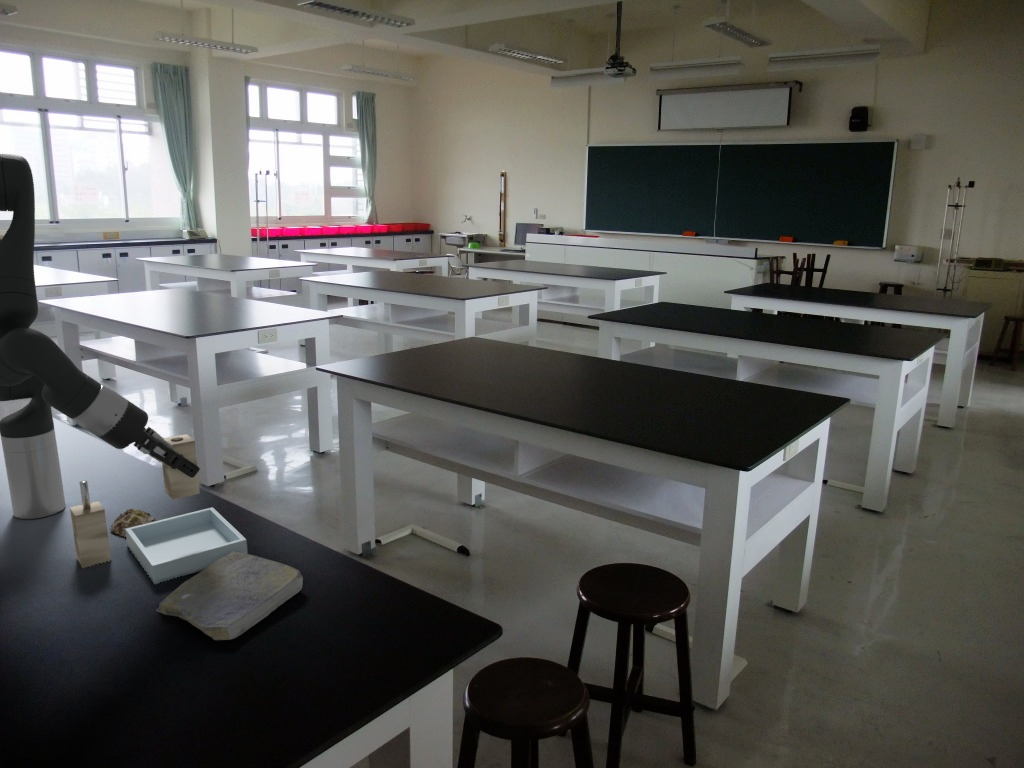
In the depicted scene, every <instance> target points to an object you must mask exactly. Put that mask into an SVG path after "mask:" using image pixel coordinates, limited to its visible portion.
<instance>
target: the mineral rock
mask: <svg viewBox="0 0 1024 768" xmlns="http://www.w3.org/2000/svg"><path fill="white" fill-rule="evenodd" d="M155 521H157V520H156V518H155V517H153V516H151V514H150V513H149V512H145V511H144V510H141V509H135V508H128V509H126V510H125V511H123V512H121V513H120V514H119V515H118V516H117V517H116V518H115V519H114V522H113V523H112V524H111V525H110V528H109V530H110V531H111V532H113V533H114V534H115V535H117V534H119V535H118V536H121V537H123V536H124V538H125V537H126V531H125V529H127V528H131V527H135V526H139V525H143V524H147V523H151V522H155Z"/></svg>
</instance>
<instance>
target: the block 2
mask: <svg viewBox="0 0 1024 768" xmlns="http://www.w3.org/2000/svg"><path fill="white" fill-rule="evenodd" d="M163 438H164V440H165V441H167V442H168V443H170V444H171V445H173V447H174V450H175V451H176V452H178V453H179V454H182V455H183V456H184V458H186V459H187V460H189V461H191V462H192V463H194V464H195V465H197V466H198V462H197V461H198V460H197V451H196V450H197V449H196V441H195V440H194V438H192V436H189V434H187V433H186V434H184V433H183V434H179V435H175V436H174V435H173V436H169V437H163ZM163 444H164V443H163ZM164 445H165V444H164ZM165 446H167V445H165ZM167 447H168V446H167ZM175 457H176V456H175V455H174V456H173V457H172V458H171V459H170V460H169V461H170V462H172V461H173V459H174V458H175ZM161 463H162V473H163V476H162V477H163V483H164V492H165V493H166V494H167V495H168V497H170V498H171V499H172V500H177V499H181V498H186V497H190V496H195V495H200V483H199V480H200V479H199V472H198V473H197V474H196V475H195V476H194V477H193V478H191V477H189V476H188V475H186V474H185V473H183V472H181V471H180V470H178V469H177V468H176V469H172V468H171V467H170V466H168V465H167V464H165V463H163V462H161Z"/></svg>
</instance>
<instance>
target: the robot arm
mask: <svg viewBox="0 0 1024 768" xmlns="http://www.w3.org/2000/svg"><path fill="white" fill-rule="evenodd" d="M0 212H12V218H11V223H10V225H9V227H8V229H7V230H6V232H5V234H4V235H3V236H2V238H0V402H8V401H9V402H10V401H17V400H24V399H30V401H29V402H28V403H27V404H26V405H25V406H23V407H22V408H21V409H19V410H17V411H15V412H13V413H10V414H8V415H6V416H4V417H2V418H1V419H0V441H1V446H2V447H1V448H2V452H3V458H4V464H5V465H4V466H5V470H6V476H7V482H8V488H9V489H8V490H9V495H10V502H11V503H10V504H11V507H12V515H13V517H15V518H17V519H22V520H32V519H41V518H45V517H49V516H52V515H55V514H57V513H59V512H61V511H63V510H64V509H65V507H66V499H65V491H64V484H63V478H62V470H61V465H60V458H59V456H60V455H59V452H58V451H59V450H58V445H57V438H56V432H55V431H56V430H55V423H54V418H53V417H54V416H53V411H52V408H53V409H55V410H56V411H58V412H60V413H61V414H63V415H65V416H66V417H67V418H69V419H71V420H72V421H73V422H75V423H77V425H79V426H80V427H81V428H83V429H85V430H86V431H88V432H89V433H90V434H93V435H94V436H95V437H97V438H98V439H100V440H102V441H103V442H105V443H107V444H109V445H110V446H111V447H114V448H115V449H116V450H117V449H118V450H123V449H126V448H127V447H129V446H130V445H132V444H133V446H134V447H135V448H137V451H139V452H140V453H142V454H144V455H148V456H150V457H151V458H153V459H155V460H156V461H157V462H159V463H162V462H163V463H165V464H167V465H168V466H170V467H171V468H172V469H176V468H177V469H178V470H180V471H181V472H183V473H185V474H186V475H188V476H189V477H191V478H193V477H194V476H195V475H196V474H197V473H198V474H199V471H200V470H201V469H200V467H199V466H198V464H197V465H195V464H194V463H192V462H191V461H189V460H187V459H186V458H184V456H183V455H182V454H179V453H178V452H176V451H175V450H174V447H173V445H171V444H170V443H168V442H167V441H165V440H164V438H165V437H163V436H161V434H159V433H158V432H157V431H156V430H155V429H153V428H151V427H150V426H148V427H147V428H146V426H147V425H148V421H149V415H148V413H147V412H146V411H144V410H143V409H142V408H140V407H139V406H137V405H136V404H134V403H133V402H131V401H130V400H129V399H127V398H125V397H124V396H122V395H121V394H119V393H118V392H117V391H115V390H113V389H111V388H109V387H106V386H105V385H103V384H102V383H100V382H99V381H97V380H96V379H94V378H93V377H91V376H90V375H88V374H86V373H85V372H84V371H82V370H80V369H79V368H78V367H77V365H76V364H75V363H74V362H73V361H72V360H71V358H69V356H68V355H67V354H66V353H65V352H64V351H63V350H62V349H61V348H60V346H59V345H58V344H57V343H56V342H55V341H54V340H53V339H52V338H51V337H49V336H48V335H47V334H45V333H43V332H41V331H39V330H36V329H34V328H32V327H31V325H32V324H33V323H34V322H35V320H36V319H37V317H38V315H39V306H38V305H39V304H38V298H37V297H38V295H37V288H36V278H35V269H34V268H35V267H34V266H35V264H34V259H35V257H34V256H35V237H36V236H35V235H36V232H35V231H36V202H35V184H34V177H33V172H32V168H31V166H30V163H29V162H28V160H27V159H26V158H25V157H24V156H23V155H19V154H13V153H12V154H10V153H9V154H8V153H0ZM163 443H164V444H165V445H167V446H168V447H167V446H165V445H164V444H163ZM174 455H175V456H176V457H175V458H174V459H173V461H172V462H170V461H169V460H170V459H171V458H172V457H173V456H174Z"/></svg>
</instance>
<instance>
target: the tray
mask: <svg viewBox="0 0 1024 768" xmlns="http://www.w3.org/2000/svg"><path fill="white" fill-rule="evenodd" d="M125 531H126V538H125V539H126V545H128V546H127V547H129V548H130V549H129V548H128V549H129V550H130V552H131V551H132V552H131V554H132V555H133V554H134V555H135V556H134V555H133V556H134V557H135V559H136V558H137V559H136V560H137V562H138V561H139V562H140V563H139V562H138V563H139V565H142V566H141V567H142V569H143V568H144V569H143V570H144V572H145V571H146V572H147V573H146V572H145V573H146V575H147V576H148V575H149V576H148V577H149V579H150V578H151V579H150V580H151V581H152V583H153V585H158V584H160V582H162V583H164V582H163V581H165V582H167V581H166V580H168V581H170V579H172V580H174V579H173V578H175V579H178V578H177V577H179V578H181V577H180V576H182V577H185V576H188V574H189V575H191V574H196V573H200V572H201V571H203V570H204V569H206V568H207V567H208V566H209V565H211V564H212V563H213V562H215V561H216V560H218V559H220V558H222V557H224V556H227V555H228V554H230V553H231V552H233V551H237V552H242V553H247V554H249V552H248V544H247V543H248V542H247V541H248V540H247V539H246V538H245V536H243V535H242V534H241V532H239V531H238V530H237V529H236V528H235V527H234V526H233V525H232V524H231V523H230V522H229V521H227V519H225V518H224V516H222V515H221V514H220V513H219V512H218V511H217V510H216V509H215V508H214V507H208V508H204V509H200V510H196V511H193V512H187V513H183V514H179V515H175V516H172V517H168V518H163V519H159V520H156V521H155V522H151V523H147V524H143V525H139V526H135V527H131V528H127V529H125Z"/></svg>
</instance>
